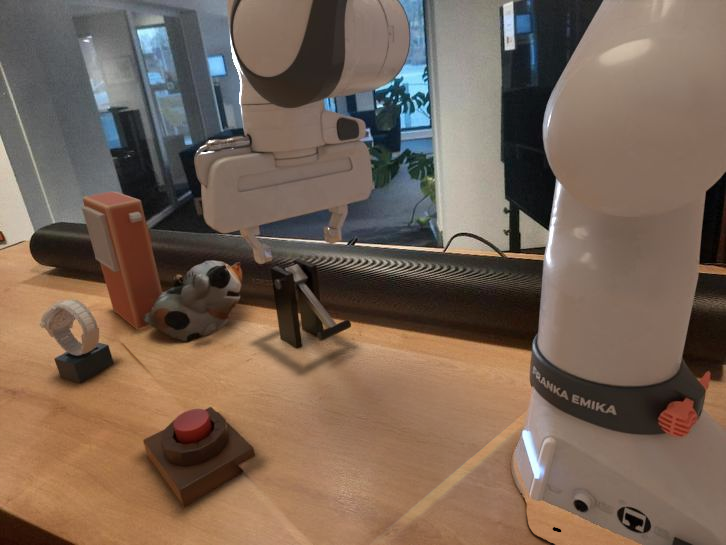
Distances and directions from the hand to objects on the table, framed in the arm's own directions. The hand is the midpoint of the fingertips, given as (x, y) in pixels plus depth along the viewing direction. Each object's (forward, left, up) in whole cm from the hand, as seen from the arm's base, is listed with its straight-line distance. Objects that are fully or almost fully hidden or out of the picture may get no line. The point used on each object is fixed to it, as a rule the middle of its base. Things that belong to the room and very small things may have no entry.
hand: (300, 251), depth 58 cm
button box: (-2, +17, -19) cm, 25 cm away
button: (-2, +17, -15) cm, 23 cm away
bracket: (+10, -5, -19) cm, 22 cm away
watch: (+28, +21, -19) cm, 40 cm away
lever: (+7, -5, -11) cm, 14 cm away
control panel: (+41, +9, -19) cm, 46 cm away
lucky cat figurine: (+28, +3, -19) cm, 34 cm away
